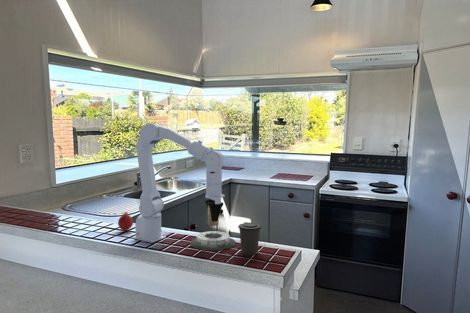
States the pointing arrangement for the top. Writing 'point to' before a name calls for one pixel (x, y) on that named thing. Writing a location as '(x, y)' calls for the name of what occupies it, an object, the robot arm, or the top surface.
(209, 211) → the peg
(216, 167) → the robot arm
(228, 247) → the rosette
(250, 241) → the coffee cup
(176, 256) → the top surface
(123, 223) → the onion
